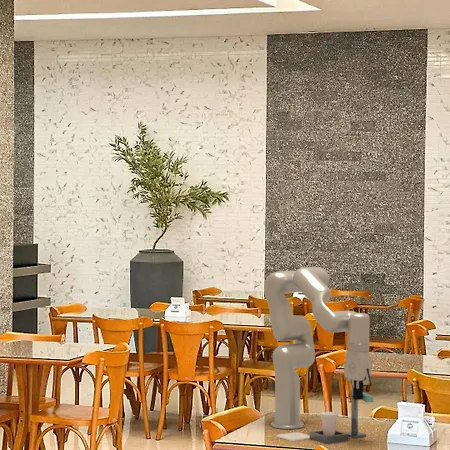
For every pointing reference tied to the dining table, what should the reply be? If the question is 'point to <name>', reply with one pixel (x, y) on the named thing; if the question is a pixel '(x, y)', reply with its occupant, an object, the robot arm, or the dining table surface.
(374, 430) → the dining table surface
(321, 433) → the dark grey square tray
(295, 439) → the coaster pad
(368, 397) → the teal bar
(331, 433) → the smoothie
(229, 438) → the dining table surface
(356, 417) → the post
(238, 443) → the dining table surface
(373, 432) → the dining table surface
